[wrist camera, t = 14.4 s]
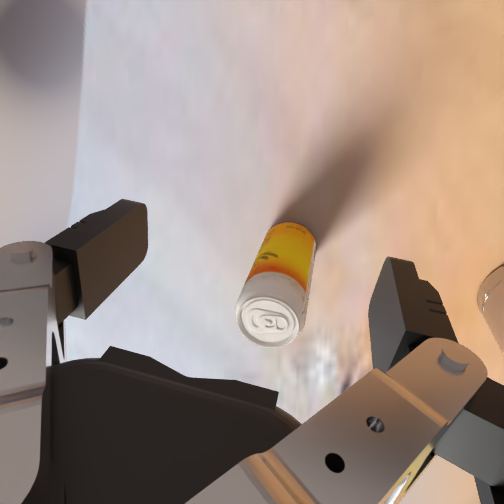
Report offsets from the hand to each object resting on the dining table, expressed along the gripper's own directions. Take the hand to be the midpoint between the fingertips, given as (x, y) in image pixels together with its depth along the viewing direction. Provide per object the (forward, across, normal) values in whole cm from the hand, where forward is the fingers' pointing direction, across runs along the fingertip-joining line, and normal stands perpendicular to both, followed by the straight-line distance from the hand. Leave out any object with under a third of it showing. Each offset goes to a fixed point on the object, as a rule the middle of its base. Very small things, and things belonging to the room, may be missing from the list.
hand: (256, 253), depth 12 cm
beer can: (+28, 0, +14) cm, 32 cm away
